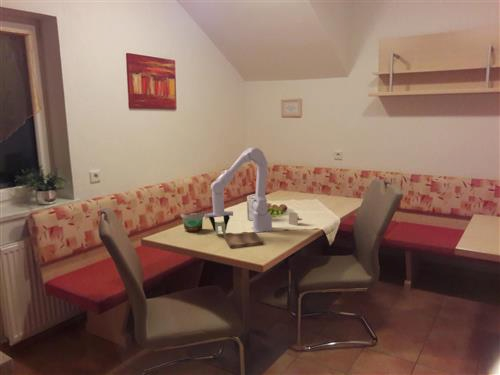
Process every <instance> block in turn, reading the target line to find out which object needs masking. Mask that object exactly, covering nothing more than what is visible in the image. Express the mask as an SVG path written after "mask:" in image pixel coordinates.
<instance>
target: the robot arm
mask: <svg viewBox="0 0 500 375" xmlns="http://www.w3.org/2000/svg"><path fill="white" fill-rule="evenodd" d="M252 161H253V163H254V164H255V165H256V166H257V167H256V183H255V193H254V194H255V196H254V200H253V202H252V209H253V210H254V212H253V221H252V222H253V226H252V227H251V229H252V232H255V233H262V232H269V231H270V232H271V231H273V219H272V214H271V212H268V211H269V207H268V206H269V205H268V203H267V202H268V201H267V198H266V189H267V176H268V160H267V158H266V156H265V154H264V152H263V151H262V150H261V149H260V148H257V147H254V146H248V147H247V148H246V149H245V150H244V151H243V152H242V153H241V154H240V155H239V157H237V159H236V160H235V162H234V163H233V164H232V165H231V166H230V168H229V169H224V170H222V171H221V174H220V175H219V176H218V177H217V178H216V179H215V181H213V182H212V183H211V185H210V186H209V187H210V190H211V191H212V192H211V194H212V195H211V196H212V197H211V198H212V199H211V200H212V211H213V212H209V213H204V219H209V221H210V223H211V226H212V230H213V232H214V231H215V222H216V220H215V218H218V217H220V218H221V217H223V221H224V223H225V230H226V231H227V227H228V223H229V221H230V219H231V218H230V216H234V211H230V210H229V211H225V203H224V202H225V201H224V200H225V198H224V196H225V195H224V191H225V188H226V187H227V186H228V184H229V183H230V182H231V181H232V180H233V179H234V178H235V173H236V172H238V171H239V169H241V167H242V166H243V165H244V164H245V163H249V162H250V163H251V162H252Z"/></svg>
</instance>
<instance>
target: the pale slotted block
mask: <svg viewBox="0 0 500 375" xmlns="http://www.w3.org/2000/svg"><path fill="white" fill-rule="evenodd" d="M219 227H220V228H221V232H222V234H223V235H227V233H226V231H227V229H226V230H225V223H224V220H219V221H218V220H217V221H215V231H214V230H213V232H214V234H215V235H216V236H218V235H219Z"/></svg>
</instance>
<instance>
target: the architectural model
mask: <svg viewBox="0 0 500 375" xmlns="http://www.w3.org/2000/svg"><path fill="white" fill-rule="evenodd" d="M302 220H303V218H301V217H300V216H298V213H297V212H296V211H295V212H293V211H289V212H288V224H289V225H291V226H297V227H298V225H299V224H298V223H299V222H300V221H302Z"/></svg>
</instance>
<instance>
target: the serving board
mask: <svg viewBox="0 0 500 375" xmlns="http://www.w3.org/2000/svg"><path fill="white" fill-rule="evenodd" d="M223 238H224V240H225V242H226V244H227V245H228V247H229V249H236V248H245V247H254V246H261V245H264V241H263V240H262V238H260V236H259V235H258V233H257V232H254V231H250V232H243V233H241V232H240V233H234V234H223Z"/></svg>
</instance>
